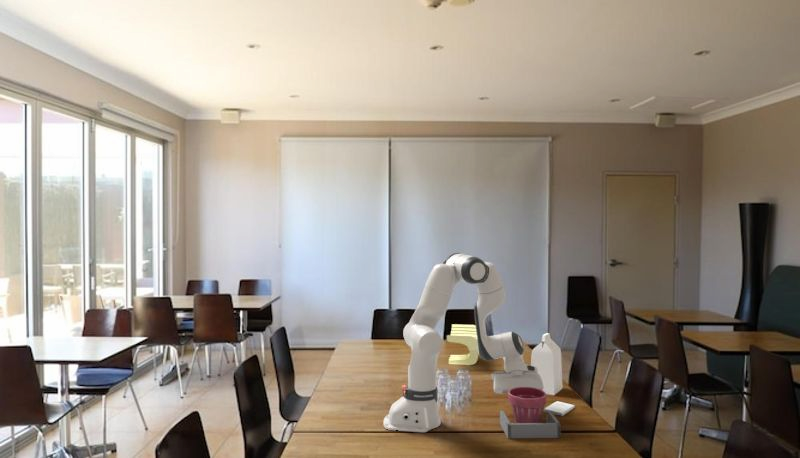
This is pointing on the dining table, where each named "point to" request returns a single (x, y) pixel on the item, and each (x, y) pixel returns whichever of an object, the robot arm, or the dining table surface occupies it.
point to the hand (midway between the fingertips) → (521, 402)
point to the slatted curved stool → (466, 337)
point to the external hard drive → (559, 408)
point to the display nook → (532, 428)
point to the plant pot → (527, 404)
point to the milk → (548, 364)
